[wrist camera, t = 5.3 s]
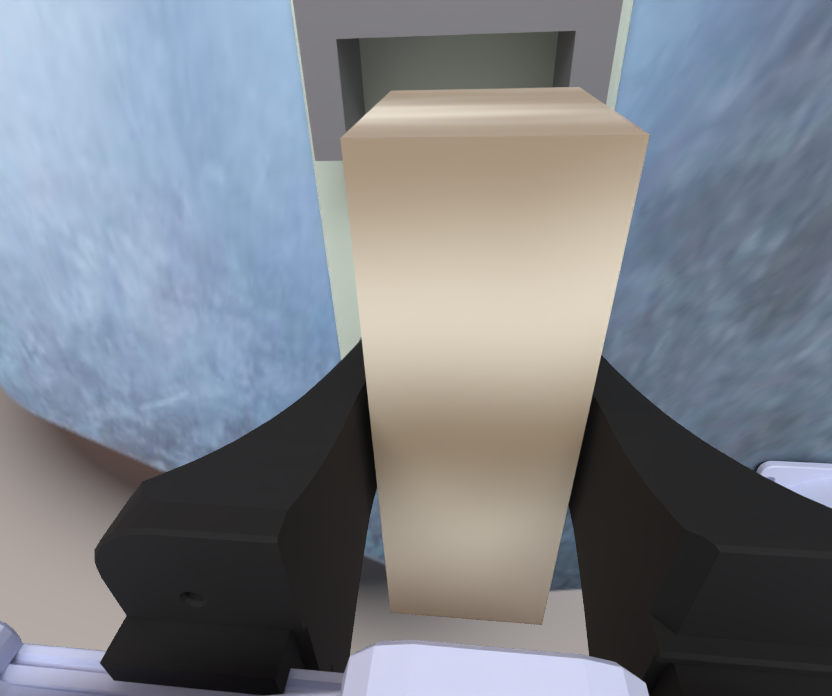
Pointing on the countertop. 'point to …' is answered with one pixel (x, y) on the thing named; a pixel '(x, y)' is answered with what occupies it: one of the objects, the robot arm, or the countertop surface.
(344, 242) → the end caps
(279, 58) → the countertop surface
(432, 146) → the slat
